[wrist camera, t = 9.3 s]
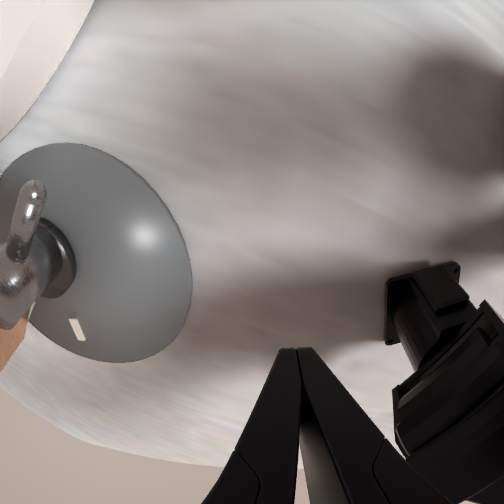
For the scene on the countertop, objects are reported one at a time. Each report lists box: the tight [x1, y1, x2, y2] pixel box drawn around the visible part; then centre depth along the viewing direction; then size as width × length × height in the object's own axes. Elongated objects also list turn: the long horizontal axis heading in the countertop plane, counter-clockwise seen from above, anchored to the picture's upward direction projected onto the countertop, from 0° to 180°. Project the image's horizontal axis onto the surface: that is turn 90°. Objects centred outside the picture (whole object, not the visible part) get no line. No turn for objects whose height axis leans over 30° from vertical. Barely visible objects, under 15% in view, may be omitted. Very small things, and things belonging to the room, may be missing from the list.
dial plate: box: [0, 143, 192, 363], centre depth 20 cm, size 19×20×1 cm
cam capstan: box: [0, 180, 77, 372], centre depth 15 cm, size 19×6×10 cm, turn 142°
